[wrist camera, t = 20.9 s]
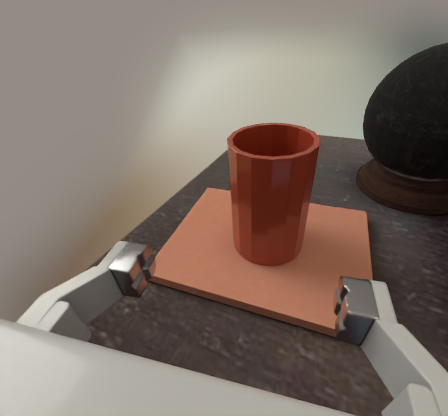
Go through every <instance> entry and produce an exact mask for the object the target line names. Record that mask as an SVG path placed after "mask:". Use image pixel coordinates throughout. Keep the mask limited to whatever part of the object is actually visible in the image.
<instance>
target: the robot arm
mask: <svg viewBox="0 0 448 416" xmlns="http://www.w3.org/2000/svg"><path fill="white" fill-rule="evenodd" d="M152 252H153V251H152V248H151V246H146V245H141V244H136V243H130V242H124V241H119V242H117V243H116V244H115V246H114V247H113V248H112V249H111V250H110V252H109V253H108V254H107V255H106V257H105V258H104V259H103V260H102V261H101V263H100V264H99V265H98V266H97V267H92V268H91V269H89V270H87V271H85V272H83V273H81V274H79V275H78V276H76V277H74V278H72V279H70V280H69V281H67V282H65V283H63V284H61V285H59V286H57V287H55V288H53V289H51V290H50V291H48V292H46V293H44V294H42V295H41V296H40V297H39V298H38V299H37V300H36V301H35V302H34V303H33V304H32V305H31V306H30V308H29V309H28V310H27V311H26V312H25V313H24V314H23V315H22V316H21V317H20V318H19V319H18V320H17V322H11V321H7V320H4V319H0V416H356V415H352V414H349V413H345V412H341V411H338V410H334V409H330V408H327V407H323V406H319V405H316V404H312V403H308V402H305V401H301V400H297V399H294V398H290V397H286V396H283V395H279V394H275V393H272V392H268V391H264V390H261V389H257V388H253V387H250V386H246V385H242V384H239V383H235V382H231V381H228V380H224V379H220V378H217V377H213V376H209V375H206V374H202V373H198V372H195V371H191V370H187V369H184V368H180V367H176V366H173V365H169V364H165V363H162V362H158V361H154V360H151V359H147V358H143V357H140V356H136V355H132V354H129V353H125V352H121V351H118V350H114V349H110V348H107V347H103V346H99V345H96V344H92V343H88V340H89V339H90V337H91V332H90V330H89V329H88V328H87V326H86V325H87V324H88V323H89V322H91V321H92V320H93V319H94V318H96V317H97V316H98V315H100V314H101V313H102V312H104V311H105V310H106V309H107V308H109V307H110V306H111V305H113V304H114V303H115V302H116V301H118V300H119V299H120V298H122V297H123V295H125V296H131V297H136V298H140V297H141V295H142V294H143V292H144V290H145V289H146V287H147V282H146V281H147V280H149V279H151V278H152V276H153V275H154V273H155V269H156V260H155V258H154V257H153V256H152V255H151V253H152ZM338 285H339V287H338V288H336V289H335V293H334V299H333V308H334V313H335V314H336V316H337V318H336V321H335V332H336V340H339V341H344V342H348V343H352V344H356V345H360V346H361V348H362V350H363V352H364V353H365V355H366V356H367V358H368V359H369V361H370V362H371V364H372V366H373V367H374V369H375V370H376V372H377V373H378V375H379V376H380V378H381V380H382V381H383V383H384V384H385V386H386V387H387V389H388V390H389V392H390V394H391V395H392V397H393V398H394V400H393V401H392V402H391V403H390V404H389V405H388V406H387V407H386V408H385V409H384V410H383V411H382V412H381V413H382V416H448V372H447V371H446V370H445V369H444V368H443V367H442V366H441V365H440V364H439V363H438V362H437V361H436V359H435V358H434V357H433V356H432V355H431V354H430V353H429V352H428V351H427V350H426V349H425V348H424V347H423V346H422V345H421V344H420V342H419V341H418V340H417V339H416V338H415V337H414V336H413V335H412V334H411V333H410V332H409V331H408V330H407V329H406V328H405V327H404V325H402V324H398V322H397V318H396V315H395V311H394V308H393V304H392V301H391V298H390V294H389V291H388V287H387V285H386V283H385V282H379V281H373V280H368V279H361V278H354V277H347V276H340V278H339V280H338Z"/></svg>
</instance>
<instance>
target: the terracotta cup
mask: <svg viewBox="0 0 448 416" xmlns="http://www.w3.org/2000/svg"><path fill="white" fill-rule="evenodd" d="M227 144H228V161H229V178H230V195H231V212H232V229H233V242H234V246H235V248H236V250H237V252H238V253H239V254H240V255H241V256H242V257H243V258H245V259H246V260H248V261H250V262H252V263H255V264H258V265H263V266H277V265H282V264H285V263H288V262H290V261H291V260H293V259H294V258H295V257H296V256H297V255H298V254H299V253H300V251H301V249H302V244H303V239H304V233H305V227H306V221H307V215H308V209H309V203H310V197H311V191H312V186H313V180H314V174H315V168H316V162H317V156H318V150H319V144H320V138H319V137H318V135H317V134H316V133H315V132H314V131H311V130H309V129H307V128H305V127H301V126H297V125H292V124H285V123H266V124H255V125H251V126H247V127H243V128H241V129H239V130H237V131H235V132H233V133H232V134H231V135H230V136H229V137H228V139H227Z"/></svg>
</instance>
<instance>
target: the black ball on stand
mask: <svg viewBox="0 0 448 416" xmlns="http://www.w3.org/2000/svg"><path fill="white" fill-rule="evenodd" d="M363 133H364V139H365V142H366V145H367V147H368V150H369V151H370V153H371V154H372V156H373V157H374V159H372V160H370V161H369V162H367V163H366V164H365V165H363V166H362V167H361V168H360V169H359V170H358V173H357V177H356V183H357V185H358V187H359V188H360V190H361V191H362V192H363V193H364V194H365V195H367V196H368V197H370V198H371V199H373V200H375V201H377V202H379V203H381V204H383V205H385V206H388V207H391V208H394V209H397V210H401V211H405V212H410V213H415V214H425V215H438V214H445V213H448V43H445V44H441V45H437V46H433V47H430V48H428V49H426V50H424V51H421V52H419V53H417V54H415V55H413V56H411V57H410V58H408V59H407V60H405V61H403V62H402V63H401V64H399V65H398V66H397V67H396V68H394V69H393V70H392V71H391V72H390V73H389V74H388V75H387V76H386V77H385V78H384V79H383V80H382V81H381V83H380V84H379V85H378V86H377V87H376V89H375V91H374V92H373V94H372V96H371V97H370V99H369V102H368V105H367V107H366V110H365V115H364V122H363Z"/></svg>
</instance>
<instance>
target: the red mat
mask: <svg viewBox="0 0 448 416" xmlns="http://www.w3.org/2000/svg"><path fill="white" fill-rule="evenodd" d="M155 260H156V269H155V273H154V275H153V276H152V278H151V279H149V280H148V281H152V282H155V283H158V284H161V285H165V286H168V287H171V288H175V289H178V290H181V291H185V292H188V293H191V294H194V295H198V296H201V297H204V298H208V299H211V300H214V301H218V302H221V303H224V304H227V305H231V306H234V307H237V308H241V309H244V310H247V311H251V312H254V313H257V314H260V315H264V316H267V317H270V318H274V319H277V320H280V321H284V322H287V323H290V324H293V325H297V326H300V327H303V328H307V329H310V330H313V331H316V332H320V333H323V334H326V335H330V336H333V337H336V332H335V321H336V318H337V316H336V314H335V313H334V308H333V299H334V293H335V289H336V288H338V287H339V285H338V280H339V278H340V276H347V277H354V278H361V279H368V280H373V277H372V266H371V256H370V245H369V234H368V224H367V213H366V212H364V211H358V210H351V209H345V208H338V207H332V206H325V205H319V204H312V203H309V209H308V215H307V221H306V227H305V233H304V239H303V244H302V249H301V251H300V253H299V254H298V255H297V256H296V257H295V258H294V259H293V260H291V261H290V262H288V263H285V264H282V265H277V266H263V265H258V264H255V263H252V262H250V261H248V260H246V259H245V258H243V257H242V256H241V255H240V254H239V253H238V252H237V250H236V248H235V246H234V242H233V229H232V212H231V195H230V191H227V190H220V189H214V188H207V190H206V191H205V192H204V194H203V195H202V196H201V198H200V199H199V200H198V202H197V203H196V204H195V205H194V207H193V208H192V209H191V211H190V212H189V213H188V215H187V216H186V217H185V219H184V220H183V221H182V223H181V224H180V225H179V227H178V228H177V229H176V231H175V232H174V233H173V235H172V236H171V237H170V239H169V240H168V241H167V242H166V244H165V245H164V246H163V248H162V249H161V250H160V252H159V253H158V254H157V256H156V257H155Z"/></svg>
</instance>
